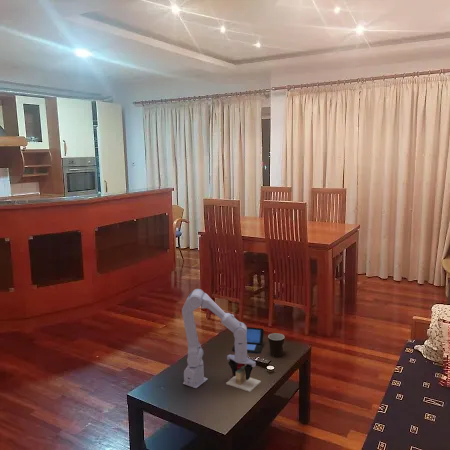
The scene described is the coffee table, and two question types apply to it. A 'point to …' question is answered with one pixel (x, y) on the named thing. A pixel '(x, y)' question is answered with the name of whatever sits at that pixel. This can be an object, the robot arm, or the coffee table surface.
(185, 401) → the coffee table surface
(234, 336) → the robot arm
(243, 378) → the oak slab
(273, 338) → the coffee mug
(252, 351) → the handheld game console
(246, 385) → the grey mat
